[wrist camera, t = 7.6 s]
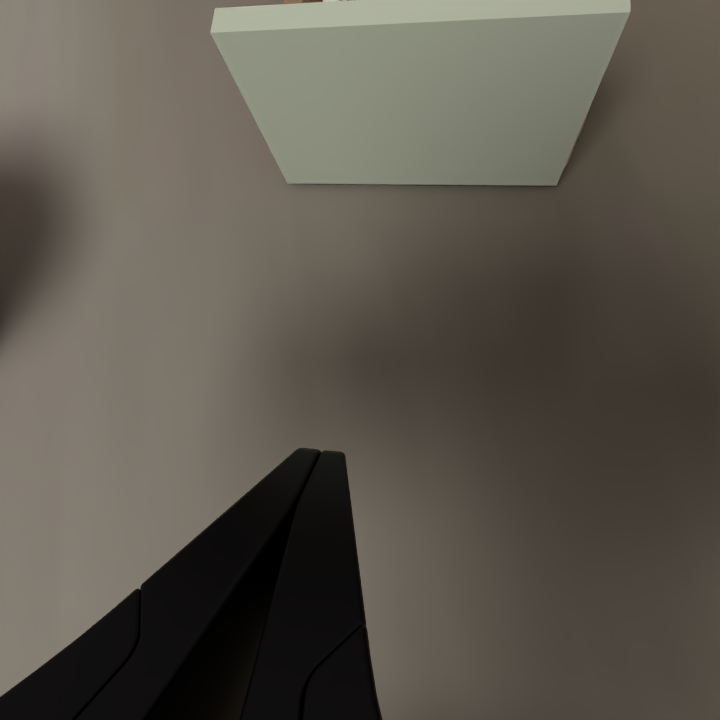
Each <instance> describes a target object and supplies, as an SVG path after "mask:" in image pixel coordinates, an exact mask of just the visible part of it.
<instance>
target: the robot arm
mask: <svg viewBox="0 0 720 720" xmlns="http://www.w3.org/2000/svg"><path fill="white" fill-rule="evenodd" d="M0 720H382V716H381V712H380V707H379V703H378V698H377V694H376V687H375V681H374V675H373V669H372V662H371V656H370V648H369V641H368V633H367V628H366V619H365V611H364V603H363V595H362V587H361V579H360V571H359V563H358V555H357V547H356V539H355V531H354V523H353V515H352V507H351V499H350V491H349V483H348V475H347V467H346V459H345V454H344V453H343V452H337V451H327V450H325V451H323V452H321V451H320V450H317V449H308V448H299V449H297V450H296V451H294V452H293V453H292V454H291V455H290V456H289V457H288V458H286V459H285V460H284V461H283V462H282V463H281V464H280V465H278V466H277V467H276V468H275V469H274V470H273V471H271V472H270V473H269V474H268V475H267V476H266V477H265V478H263V479H262V480H261V481H260V482H259V483H258V484H257V485H255V486H254V487H253V488H252V489H251V490H250V491H248V492H247V493H246V494H245V495H244V496H243V497H242V498H240V499H239V500H238V501H237V502H236V503H235V504H234V505H232V506H231V507H230V508H229V509H228V510H227V511H225V512H224V513H223V514H222V515H221V516H220V517H219V518H217V519H216V520H215V521H214V522H213V523H212V524H210V525H209V526H208V527H207V528H206V529H205V530H204V531H202V532H201V533H200V534H199V535H198V536H197V537H196V538H194V539H193V540H192V541H191V542H190V543H189V544H187V545H186V546H185V547H184V548H183V549H182V550H181V551H179V552H178V553H177V554H176V555H175V556H174V557H173V558H171V559H170V560H169V561H168V562H167V563H166V564H164V565H163V566H162V567H161V568H160V569H159V570H158V571H156V572H155V573H154V574H153V575H152V576H151V577H150V578H148V579H147V580H146V581H145V582H144V583H143V584H142V585H141V590H140V589H136V590H134V591H133V592H132V593H131V594H130V595H129V596H127V597H126V598H125V599H124V600H123V601H122V602H121V603H119V604H118V605H117V606H116V607H115V608H114V609H112V610H111V611H110V612H109V613H108V614H106V615H105V616H104V617H103V618H102V619H100V620H99V621H98V622H97V623H96V624H94V625H93V626H92V627H91V628H90V629H88V630H87V631H86V632H85V633H84V634H82V635H81V636H80V637H79V638H77V639H76V640H75V641H73V642H72V643H71V644H70V645H68V646H67V647H66V648H64V649H63V650H62V651H61V652H59V653H58V654H57V655H55V656H54V657H53V658H51V659H50V660H49V661H48V662H46V663H45V664H44V665H42V666H41V667H40V668H38V669H37V670H36V671H34V672H33V673H32V674H30V675H29V676H28V677H26V678H25V679H24V680H22V681H21V682H20V683H18V684H17V685H16V686H14V687H13V688H12V689H10V690H9V691H8V692H6V693H5V694H4V695H2V696H1V697H0Z"/></svg>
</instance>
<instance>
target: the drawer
mask: <svg viewBox="0 0 720 720" xmlns="http://www.w3.org/2000/svg"><path fill="white" fill-rule="evenodd" d="M629 14H630V0H348V1H346V0H323V2H314V3H297V4H280V5H263V6H246V7H229V8H215V12H214V17H213V22H212V27H211V32H210V33H211V35H212V37H213V39H214V41H215V43H216V45H217V47H218V49H219V51H220V53H221V55H222V57H223V59H224V61H225V62H226V64H227V66H228V68H229V70H230V72H231V74H232V76H233V78H234V80H235V82H236V84H237V86H238V88H239V90H240V92H241V94H242V96H243V98H244V100H245V101H246V103H247V105H248V107H249V109H250V111H251V113H252V115H253V117H254V119H255V121H256V123H257V125H258V127H259V129H260V131H261V133H262V135H263V137H264V138H265V140H266V142H267V144H268V146H269V148H270V150H271V152H272V154H273V156H274V158H275V160H276V162H277V164H278V166H279V168H280V170H281V172H282V174H283V176H284V177H285V179H286V181H287V183H292V184H416V185H541V186H557V184H558V181H559V179H560V177H561V174H562V172H563V170H564V167H565V165H566V162H567V160H568V158H569V155H570V153H571V151H572V148H573V146H574V144H575V141H576V139H577V137H578V134H579V132H580V130H581V127H582V125H583V123H584V120H585V118H586V115H587V113H588V111H589V108H590V106H591V104H592V101H593V99H594V97H595V94H596V92H597V90H598V87H599V85H600V83H601V80H602V78H603V75H604V73H605V71H606V68H607V66H608V64H609V61H610V59H611V57H612V54H613V52H614V50H615V47H616V45H617V43H618V40H619V38H620V35H621V33H622V31H623V28H624V26H625V24H626V21H627V19H628V17H629Z"/></svg>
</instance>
